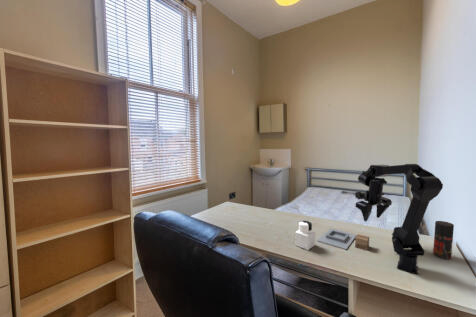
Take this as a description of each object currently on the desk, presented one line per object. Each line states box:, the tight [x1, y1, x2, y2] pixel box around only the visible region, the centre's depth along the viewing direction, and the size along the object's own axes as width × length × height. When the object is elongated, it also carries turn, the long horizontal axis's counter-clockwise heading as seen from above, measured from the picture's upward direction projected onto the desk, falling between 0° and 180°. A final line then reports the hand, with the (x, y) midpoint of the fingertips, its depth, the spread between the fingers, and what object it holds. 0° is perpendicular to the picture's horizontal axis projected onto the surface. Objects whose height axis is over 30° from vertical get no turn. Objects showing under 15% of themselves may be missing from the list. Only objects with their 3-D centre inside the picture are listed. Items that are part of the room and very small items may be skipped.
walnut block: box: [354, 234, 370, 251], centre depth 107 cm, size 5×5×5 cm
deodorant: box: [432, 220, 455, 261], centre depth 97 cm, size 6×6×15 cm
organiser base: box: [316, 227, 358, 250], centre depth 116 cm, size 20×14×2 cm
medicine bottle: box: [294, 220, 316, 251], centre depth 109 cm, size 7×7×12 cm
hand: (371, 219), depth 110 cm, fingers open, 9 cm apart
